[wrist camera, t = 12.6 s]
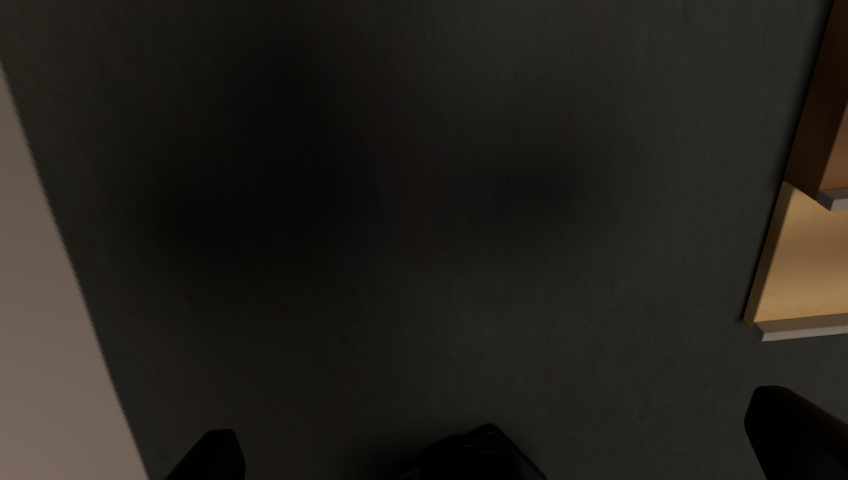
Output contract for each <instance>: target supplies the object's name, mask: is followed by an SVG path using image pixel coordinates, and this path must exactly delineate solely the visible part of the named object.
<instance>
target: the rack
mask: <svg viewBox="0 0 848 480" xmlns="http://www.w3.org/2000/svg"><path fill="white" fill-rule="evenodd" d="M783 179H784V181H783V182H782V185H781V189H780V192H779V196H778V199H777V203H776V206H775V209H774V213H773V216H772V220H771V223H770V227H769V230H768V234H767V237H766V241H765V244H764V248H763V251H762V255H761V258H760V262H759V265H758V268H757V272H756V275H755V279H754V282H753V286H752V289H751V293H750V296H749V300H748V303H747V307H746V310H745V314H744V317H743V319H744V321H745V322H746V323H747V324H748V325H749V327H750V328H751V329H752V330H753V332H754V333H755V334H756V335H757V336H758V338H759V339H760V340H761V341H771V340H781V339H791V338H802V337H812V336H822V335H832V334H842V333H848V0H834V4H833V7H832V11H831V14H830V18H829V21H828V25H827V28H826V32H825V35H824V38H823V42H822V45H821V49H820V52H819V56H818V59H817V63H816V66H815V70H814V73H813V77H812V80H811V84H810V87H809V91H808V94H807V98H806V101H805V104H804V108H803V111H802V115H801V118H800V122H799V125H798V129H797V132H796V136H795V139H794V143H793V146H792V150H791V153H790V157H789V160H788V164H787V167H786V170H785V174H784V177H783Z"/></svg>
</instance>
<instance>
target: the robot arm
mask: <svg viewBox="0 0 848 480" xmlns="http://www.w3.org/2000/svg"><path fill="white" fill-rule="evenodd" d="M744 426H745V431H746V433H747V436H748V438H749V440H750V443H751V445H752V447H753V449H754V452H755V454H756V456H757V458H758V461H759V463H760V465H761V467H762V470H763V472H764V474H765V476H766V479H767V480H848V424H846V423H845V422H843V421H842V420H840V419H838V418H837V417H835V416H833V415H832V414H830V413H828V412H827V411H825V410H824V409H822V408H820V407H819V406H817V405H815V404H814V403H812V402H810V401H809V400H807V399H806V398H804V397H802V396H801V395H799V394H797V393H796V392H794V391H792V390H791V389H789V388H787V387H785V386H782V385H770V386H760V387H758V388H756V389H755V390H754V392H753V395H752V398H751V401H750V403H749V406H748V409H747V412H746V415H745V418H744ZM245 469H246V466H245V459H244V456H243V453H242V450H241V447H240V445H239V442H238V439H237V437H236V434H235V432H234V431H233V430H231V429H220V430H211V431H208V432H207V433H205V434H204V435H203V436H202V437H201V439H200V440H199V441H198V442H197V443H196V444H195V445H194V446H193V447H192V449H191V450H190V451H189V452H188V453H187V454H186V455H185V456H184V457H183V458H182V460H181V461H180V462H179V463H178V464H177V465H176V466H175V467H174V468H173V470H172V471H171V472H170V473H169V474H168V475H167V476H166V477H165V478H164V480H244V479H245ZM398 480H547V479H546V478H545V477H544V476H543V474H542V473H541V472H540V471H539V470H538V469H537V468H536V467H535V466H534V465H533V464H532V463H531V462H530V461H529V460H528V459H527V458H526V457H525V456H524V455H523V454H522V453H521V452H520V451H519V450H518V449H517V448H516V447H515V446H514V445H513V444H512V443H511V442H510V441H509V440H508V439H507V438H506V437H505V436H504V435H503V434H502V433H501V432H500V431H499V430H498V429H497V428H496V427H487V428H484V429H482V430H480V431H478V432H476V433H474V434H472V435H470V436H468V437H466V438H464V439H462V440H460V441H458V442H456V443H453V444H451V445H449V446H447V447H445V448H443V449H441V450H439V451H437V452H435V453H433V454H431V455H429V456H427V457H425V458H423V459H421V460H419V461H417V462H415V463H413V464H411V465H409V466H407V467H405V468H403V469H401V470H400V471H399V472H398Z"/></svg>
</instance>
